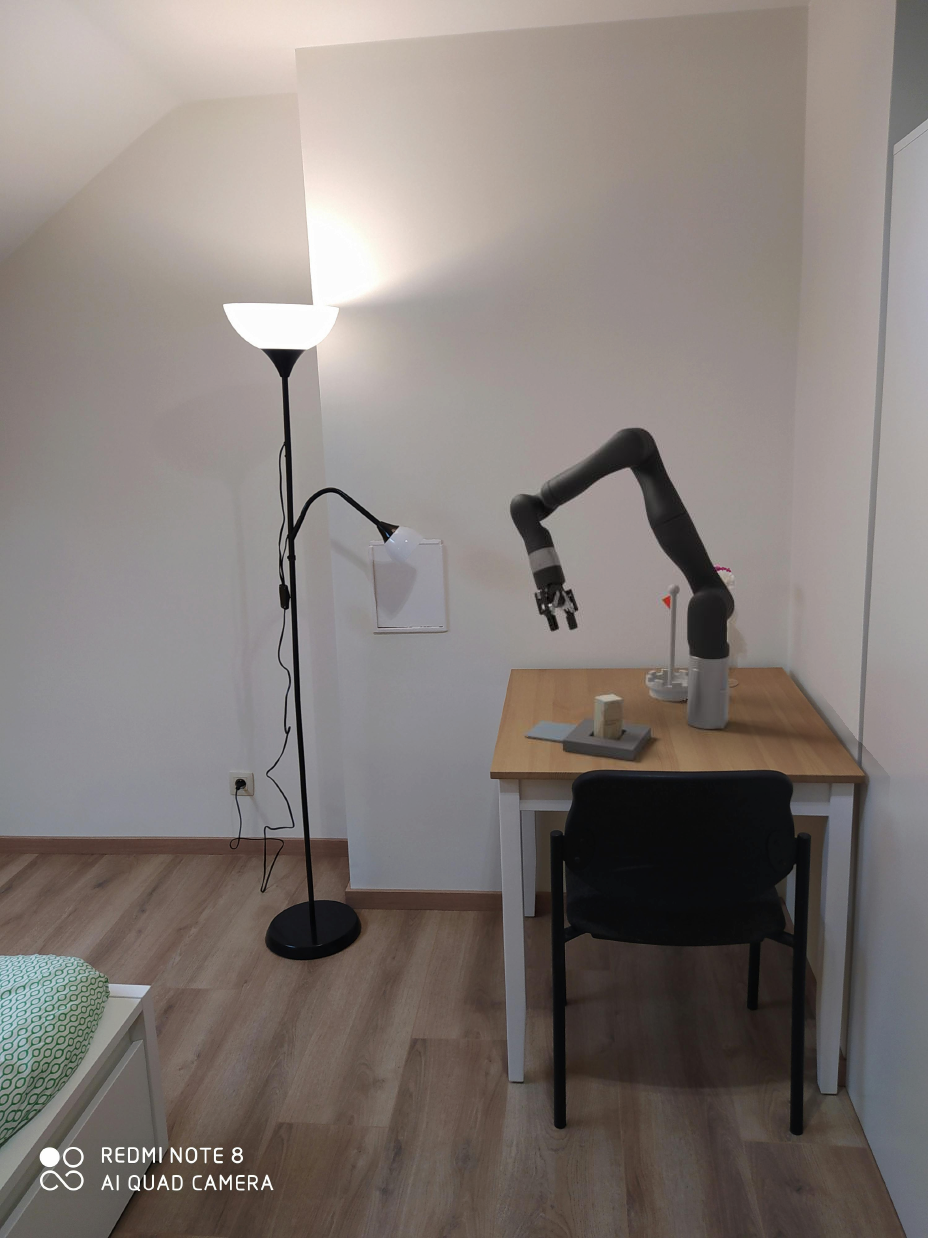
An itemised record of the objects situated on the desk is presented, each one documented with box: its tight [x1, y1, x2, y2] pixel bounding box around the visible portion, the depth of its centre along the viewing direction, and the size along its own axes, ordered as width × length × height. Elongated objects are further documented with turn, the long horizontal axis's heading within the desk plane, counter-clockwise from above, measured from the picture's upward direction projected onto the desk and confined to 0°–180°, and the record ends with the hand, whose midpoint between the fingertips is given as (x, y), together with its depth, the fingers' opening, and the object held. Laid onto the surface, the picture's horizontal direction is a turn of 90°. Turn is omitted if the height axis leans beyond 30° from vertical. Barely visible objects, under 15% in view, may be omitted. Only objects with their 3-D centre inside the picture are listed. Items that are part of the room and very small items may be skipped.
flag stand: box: [645, 583, 689, 702], centre depth 239 cm, size 13×13×30 cm
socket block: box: [562, 717, 652, 761], centre depth 208 cm, size 16×16×2 cm
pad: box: [524, 720, 578, 744], centre depth 216 cm, size 10×11×1 cm
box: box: [593, 693, 624, 740], centre depth 207 cm, size 5×4×11 cm
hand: (564, 629), depth 227 cm, fingers open, 8 cm apart
